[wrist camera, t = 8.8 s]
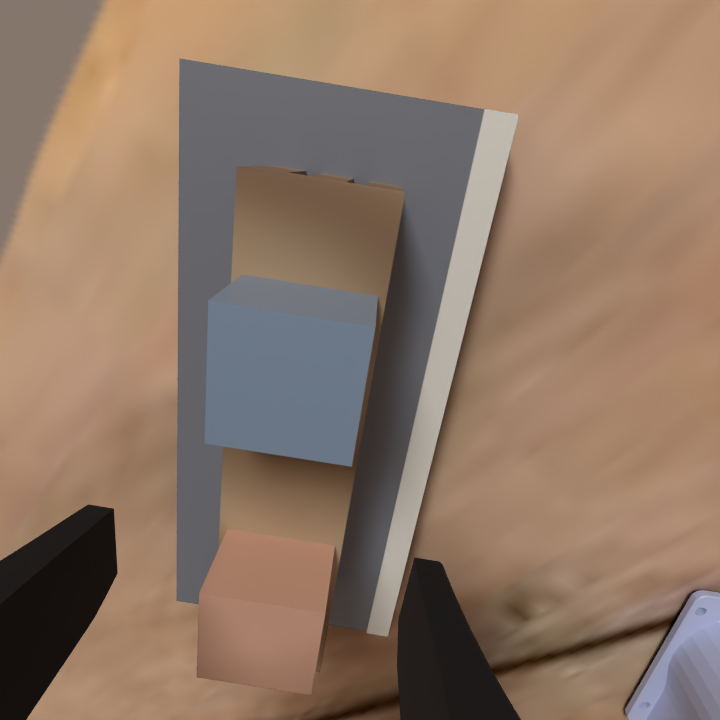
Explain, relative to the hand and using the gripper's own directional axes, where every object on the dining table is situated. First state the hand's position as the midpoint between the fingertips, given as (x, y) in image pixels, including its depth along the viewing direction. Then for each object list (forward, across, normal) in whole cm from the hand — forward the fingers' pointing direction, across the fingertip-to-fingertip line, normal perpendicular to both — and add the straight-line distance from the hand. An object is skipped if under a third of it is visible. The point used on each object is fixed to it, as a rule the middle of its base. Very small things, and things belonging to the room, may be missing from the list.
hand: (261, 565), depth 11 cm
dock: (+9, 0, 0) cm, 9 cm away
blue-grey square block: (+3, 0, -4) cm, 5 cm away
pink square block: (+3, 0, +4) cm, 5 cm away
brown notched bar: (+7, 0, 0) cm, 7 cm away
